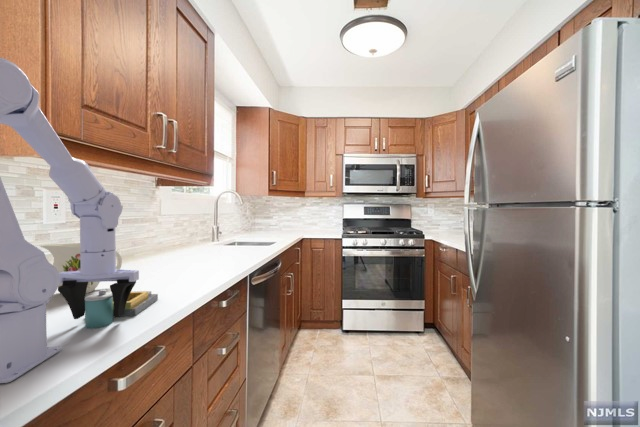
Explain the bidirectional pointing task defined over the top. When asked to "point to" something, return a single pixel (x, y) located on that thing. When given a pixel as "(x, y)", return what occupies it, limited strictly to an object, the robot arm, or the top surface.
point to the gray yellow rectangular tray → (138, 302)
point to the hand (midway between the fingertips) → (99, 316)
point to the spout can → (98, 310)
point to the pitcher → (72, 260)
